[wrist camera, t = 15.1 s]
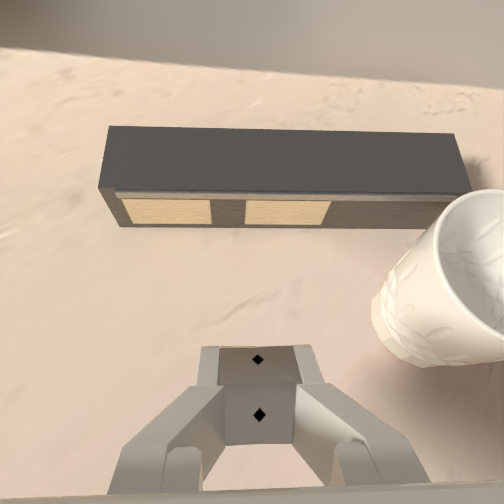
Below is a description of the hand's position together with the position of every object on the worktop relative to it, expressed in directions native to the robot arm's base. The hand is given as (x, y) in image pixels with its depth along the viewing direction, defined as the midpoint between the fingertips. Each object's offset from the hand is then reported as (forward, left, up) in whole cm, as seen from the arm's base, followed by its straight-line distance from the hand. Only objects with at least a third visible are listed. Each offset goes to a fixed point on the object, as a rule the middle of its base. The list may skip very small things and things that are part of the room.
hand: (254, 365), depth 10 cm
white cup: (+5, -12, -14) cm, 19 cm away
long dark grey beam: (+14, -3, -14) cm, 20 cm away
